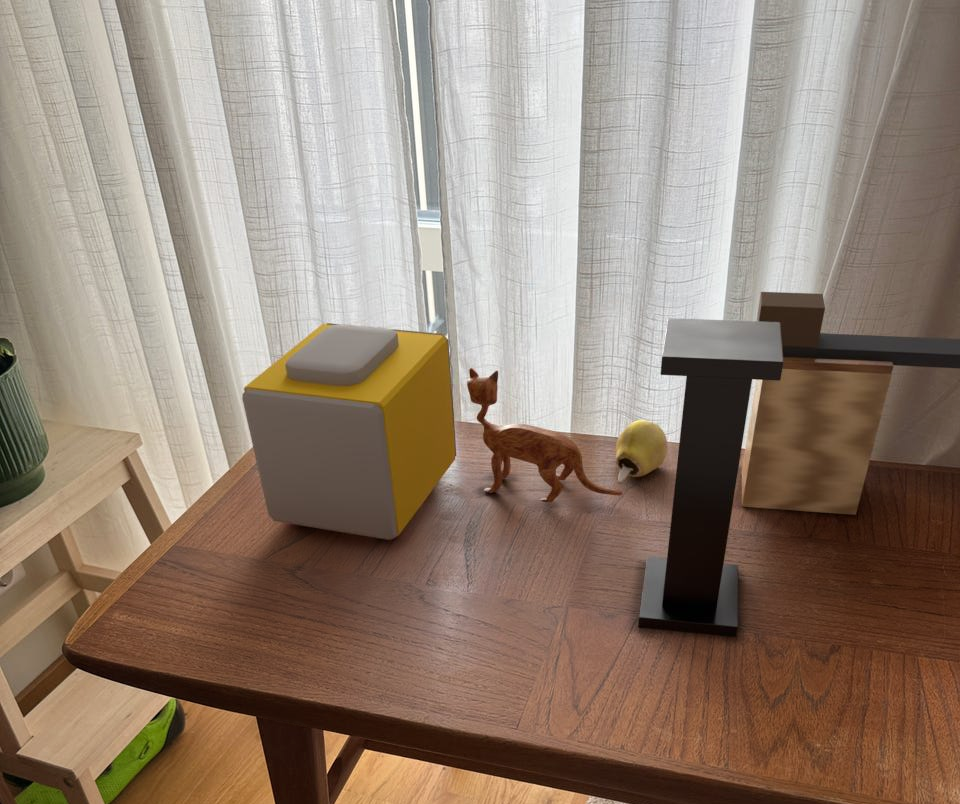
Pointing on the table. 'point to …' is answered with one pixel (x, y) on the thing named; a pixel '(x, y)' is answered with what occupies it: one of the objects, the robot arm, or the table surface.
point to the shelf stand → (707, 470)
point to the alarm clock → (353, 428)
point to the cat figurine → (527, 444)
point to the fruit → (640, 449)
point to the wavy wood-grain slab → (813, 434)
